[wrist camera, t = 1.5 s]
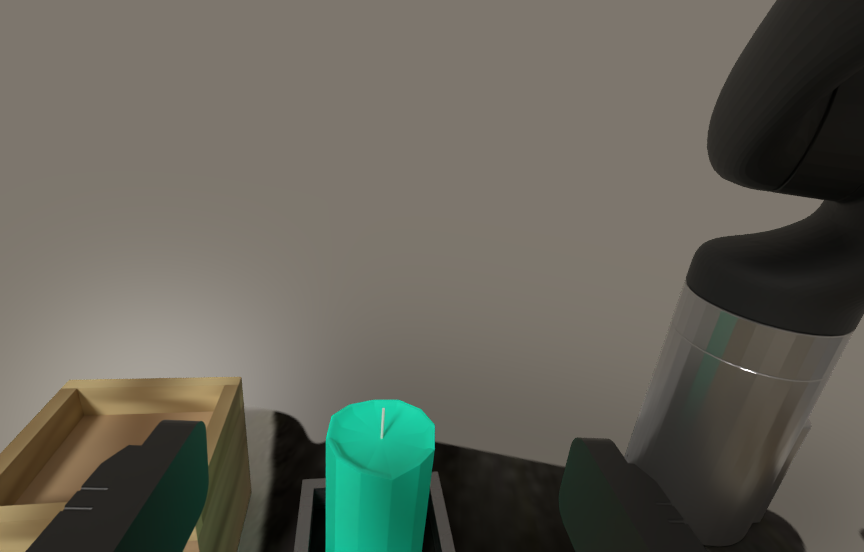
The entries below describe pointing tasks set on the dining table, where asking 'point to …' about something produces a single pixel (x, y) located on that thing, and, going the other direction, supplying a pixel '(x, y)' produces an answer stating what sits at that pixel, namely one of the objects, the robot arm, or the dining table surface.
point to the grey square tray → (316, 499)
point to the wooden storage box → (111, 432)
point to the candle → (378, 477)
